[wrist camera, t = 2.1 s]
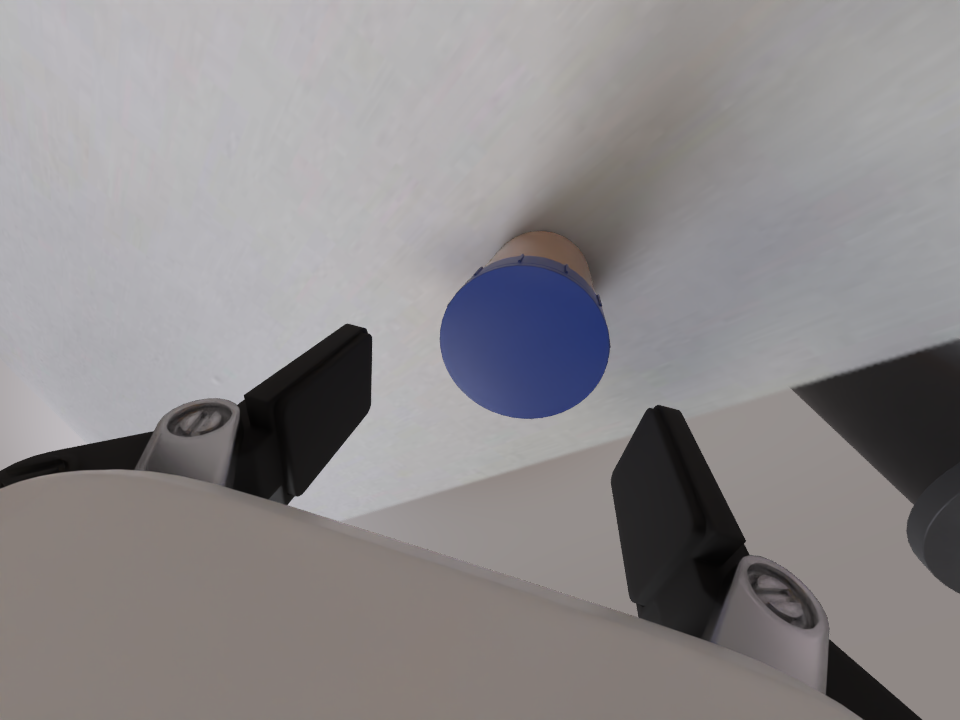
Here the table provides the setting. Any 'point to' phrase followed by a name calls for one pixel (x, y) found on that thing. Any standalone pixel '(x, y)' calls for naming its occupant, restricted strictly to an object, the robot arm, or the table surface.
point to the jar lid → (525, 337)
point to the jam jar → (547, 251)
